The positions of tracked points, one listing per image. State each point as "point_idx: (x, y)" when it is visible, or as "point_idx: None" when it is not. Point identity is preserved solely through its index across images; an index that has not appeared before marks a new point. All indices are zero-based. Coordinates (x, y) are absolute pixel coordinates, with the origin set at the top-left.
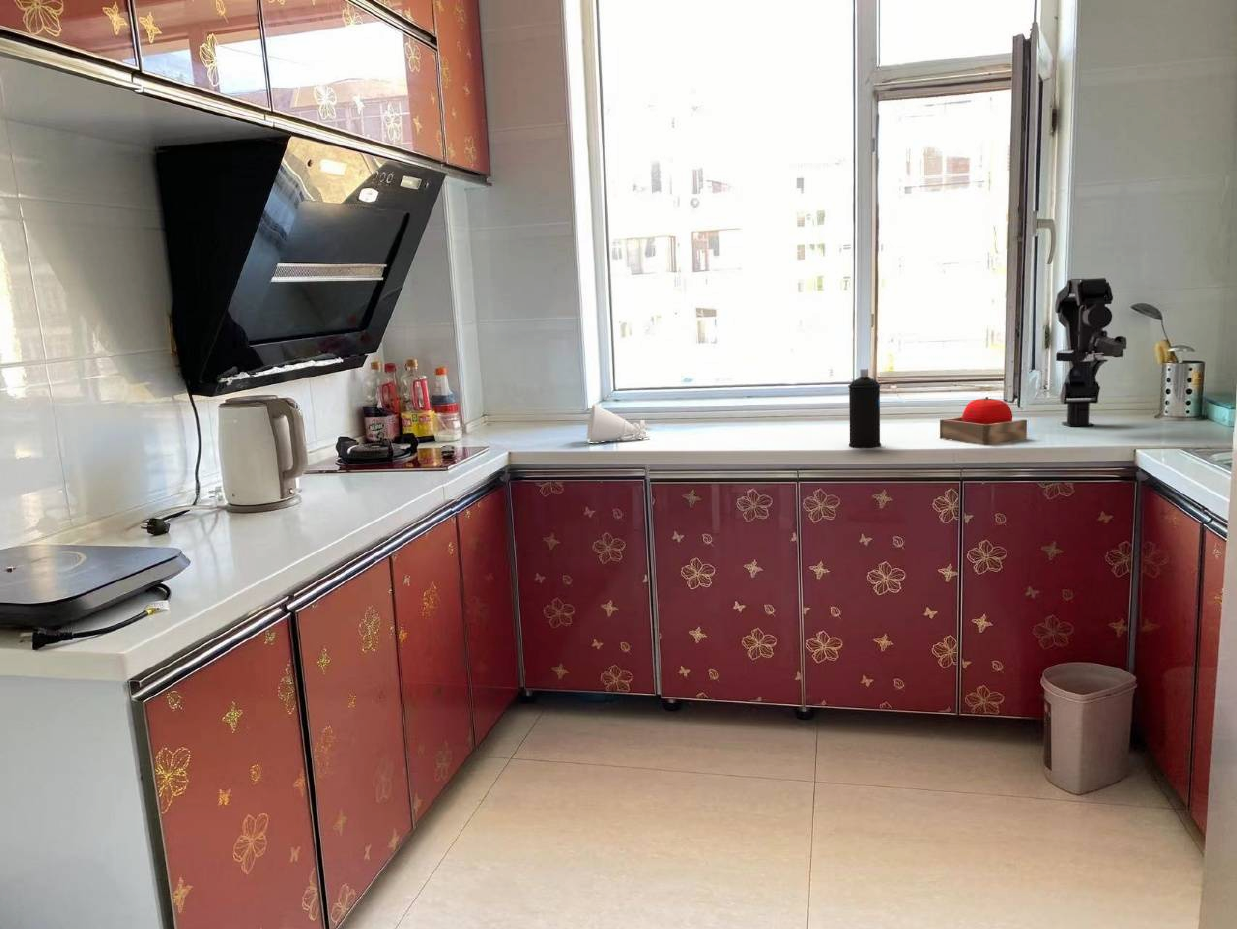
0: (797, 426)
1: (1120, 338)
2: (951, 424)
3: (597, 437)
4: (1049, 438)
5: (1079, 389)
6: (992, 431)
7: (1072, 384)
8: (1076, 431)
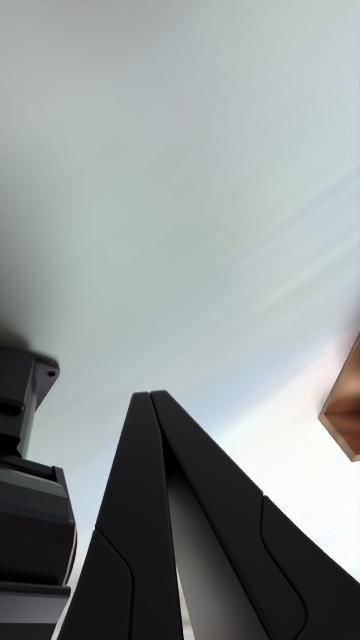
0: (351, 565)
1: None
2: None
3: None
4: (353, 231)
5: (18, 507)
6: None
7: (52, 561)
8: (142, 279)
